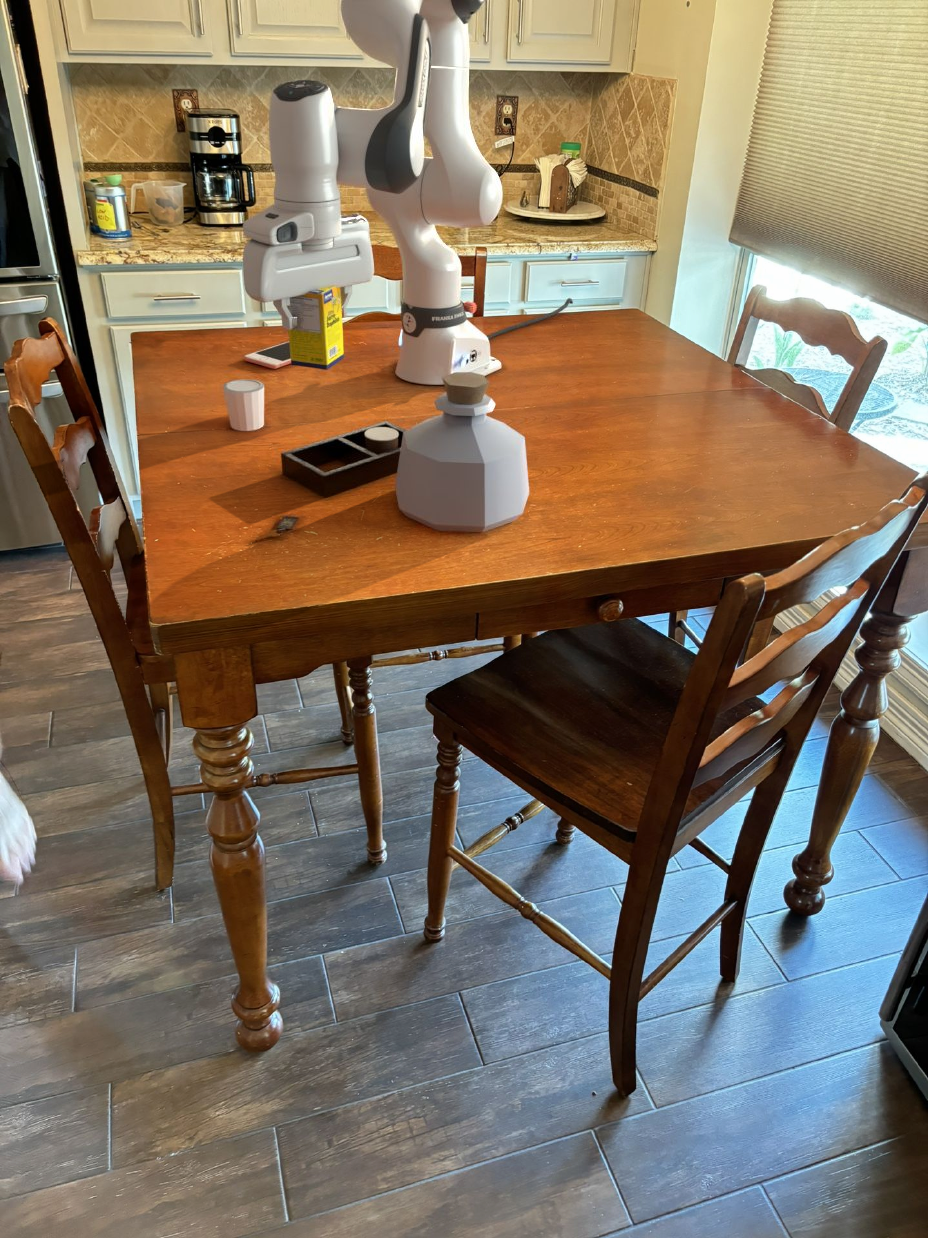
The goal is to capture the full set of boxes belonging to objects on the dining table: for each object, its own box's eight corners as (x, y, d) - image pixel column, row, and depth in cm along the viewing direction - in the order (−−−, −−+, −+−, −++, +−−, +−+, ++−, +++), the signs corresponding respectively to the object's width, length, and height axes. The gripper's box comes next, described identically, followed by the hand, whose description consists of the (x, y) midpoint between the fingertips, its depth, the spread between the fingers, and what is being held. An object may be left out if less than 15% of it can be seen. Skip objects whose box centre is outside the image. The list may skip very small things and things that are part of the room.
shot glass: (258, 434, 154) (254, 394, 150) (220, 429, 155) (215, 389, 151) (273, 419, 159) (270, 380, 156) (236, 415, 160) (232, 376, 157)
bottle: (470, 465, 146) (475, 347, 136) (554, 510, 134) (567, 385, 123) (366, 496, 135) (363, 371, 125) (447, 549, 123) (450, 415, 112)
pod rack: (386, 440, 153) (385, 420, 152) (430, 460, 147) (430, 440, 145) (282, 474, 141) (280, 452, 139) (325, 497, 135) (324, 476, 133)
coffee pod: (384, 449, 150) (383, 424, 148) (405, 459, 147) (405, 434, 145) (358, 458, 147) (357, 432, 144) (379, 468, 144) (379, 442, 141)
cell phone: (243, 360, 185) (243, 355, 185) (304, 340, 198) (304, 336, 197) (275, 369, 181) (274, 364, 181) (335, 348, 194) (335, 344, 193)
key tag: (285, 515, 129) (285, 511, 129) (304, 519, 128) (304, 515, 128) (254, 540, 123) (254, 536, 122) (274, 545, 122) (273, 541, 122)
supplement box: (344, 358, 136) (341, 283, 130) (327, 371, 131) (322, 293, 125) (308, 353, 138) (303, 278, 131) (290, 365, 133) (284, 288, 127)
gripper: (354, 207, 131) (357, 305, 139) (231, 224, 119) (243, 330, 127) (382, 214, 128) (384, 314, 135) (259, 233, 116) (269, 341, 123)
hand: (314, 322), depth 131 cm, fingers closed on supplement box, 7 cm apart
